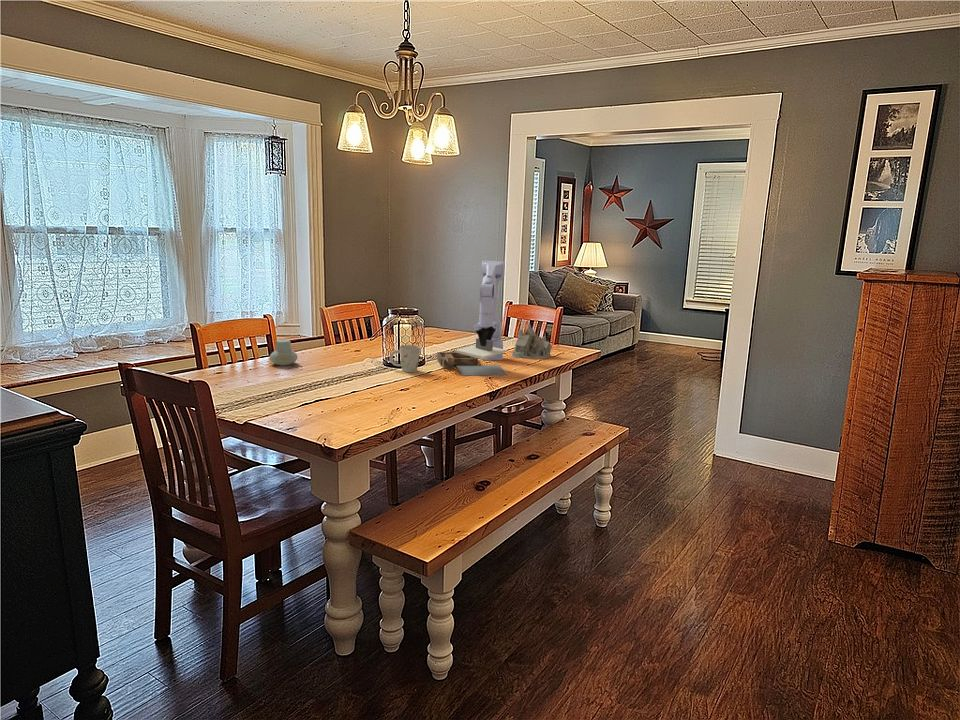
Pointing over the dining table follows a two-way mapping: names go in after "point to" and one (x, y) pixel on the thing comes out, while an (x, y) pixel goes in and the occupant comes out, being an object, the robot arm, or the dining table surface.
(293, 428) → the dining table surface
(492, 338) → the robot arm
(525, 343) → the ceramic cottage
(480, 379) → the dining table surface
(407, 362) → the mug
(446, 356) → the key
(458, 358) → the brown wooden tray
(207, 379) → the dining table surface
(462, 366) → the mat
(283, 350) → the air freshener
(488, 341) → the lid
